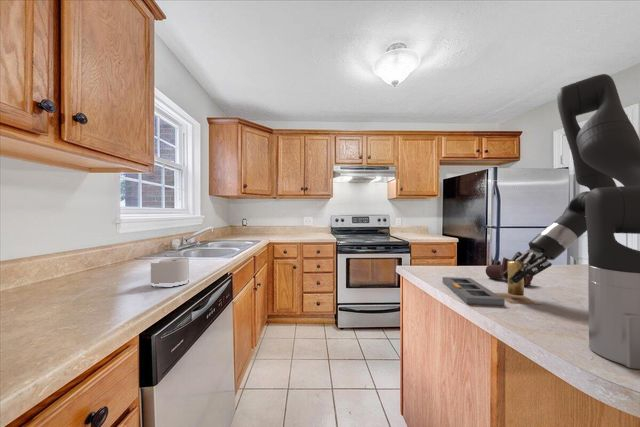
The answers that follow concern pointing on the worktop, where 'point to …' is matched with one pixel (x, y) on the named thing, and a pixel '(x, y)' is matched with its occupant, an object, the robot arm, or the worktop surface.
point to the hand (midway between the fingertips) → (508, 278)
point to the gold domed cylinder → (512, 287)
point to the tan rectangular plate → (516, 299)
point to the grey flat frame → (473, 292)
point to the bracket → (499, 269)
